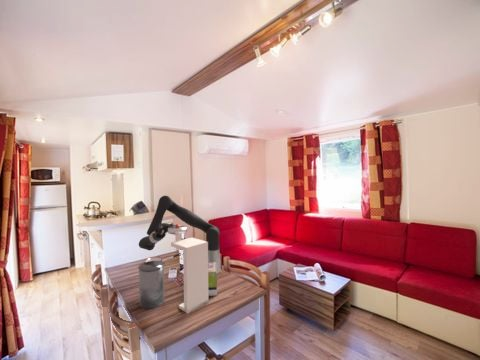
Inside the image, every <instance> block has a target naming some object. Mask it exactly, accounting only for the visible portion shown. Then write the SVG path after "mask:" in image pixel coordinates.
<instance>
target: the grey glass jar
mask: <svg viewBox="0 0 480 360" xmlns="http://www.w3.org/2000/svg"><path fill="white" fill-rule="evenodd" d="M137 269H138V279H139V280H138V281H139V282H138V285H139V291H138V292H139V307H140V308H141V309H143V310H144V309H145V310H150V309H152V310H153V309H155V308H158V307H160V306H161V305H163V304H164V302H165V262H164V261H149V262H145V261H144V262H143V263H141V264H139V265H138V267H137Z"/></svg>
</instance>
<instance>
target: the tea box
mask: <svg viewBox="0 0 480 360" xmlns="http://www.w3.org/2000/svg"><path fill="white" fill-rule="evenodd" d="M217 292H218V274H217V264H216V262H213V263H208V297H211V296H213V297H215V296H217V295H218V293H217Z"/></svg>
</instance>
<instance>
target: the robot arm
mask: <svg viewBox="0 0 480 360" xmlns="http://www.w3.org/2000/svg"><path fill="white" fill-rule="evenodd" d="M167 211H168V212H170V213H171V214H173V215H175V216H176V217H177V218H178V219H179V220H180V221H182V222H183V223H185V224H186V225H187V226H188V225H189V226H190V227H192V228H196V229H198V230H200V231H202V232H203V233H205V241H206V242H208V263H213V262H216V264H217V275H218V274H219V273H221V272H222V270H221V268H222V265H221V264H222V263H221V261H222V260H221V258H220V235H221V234H220V228H218V227H217V226H215V225H213V224H211V223H209V222H207V221H206V220H204V219H203V218H202V217H200V215H199V216H198V215H197V214H196V213H194V212H193V211H192V210H189V209H187V208H185V207H183V206H180V205H179V204H177V203H176V201H174V200H172V198H171V197H170V196H169V195H162V196H161V197H159V199H158V203H157V206H156V210H155V212H154V216H153V217H152V220H151V222H150V224H149V226H148V229H147V231H146V236H144V237H142V238H141V239H140V240H139V242H138V246H139V248H140V249H144V250H146V251H153V250H154V248H155V246H156V244H157V243H159V242H161V240H163V239H164V238H165V237H166V235H167V233H168V231H167V230H165V229H166V228H167V224H168V223H167V224H166V225H164V226H163V227H161V228H160V227H159V224H161V223H163V220H164V219H163V218H164V216H165V215H166V214H165V213H166V212H167ZM170 224H171V225H174V223H173V222H171V223H170Z"/></svg>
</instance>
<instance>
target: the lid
mask: <svg viewBox="0 0 480 360" xmlns="http://www.w3.org/2000/svg"><path fill="white" fill-rule="evenodd" d="M166 224H167V228H166V229H165V230H167V231H168V232H167V233H168V234H169V235H181V234H186V233H187V232H188V227H187V226H188V225H187V226H186V225H180V224H179V223H178V224H173V225H171V223H167V222H162V223H161V224H159V227H160V228H161V227H163V226H164V225H166Z"/></svg>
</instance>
